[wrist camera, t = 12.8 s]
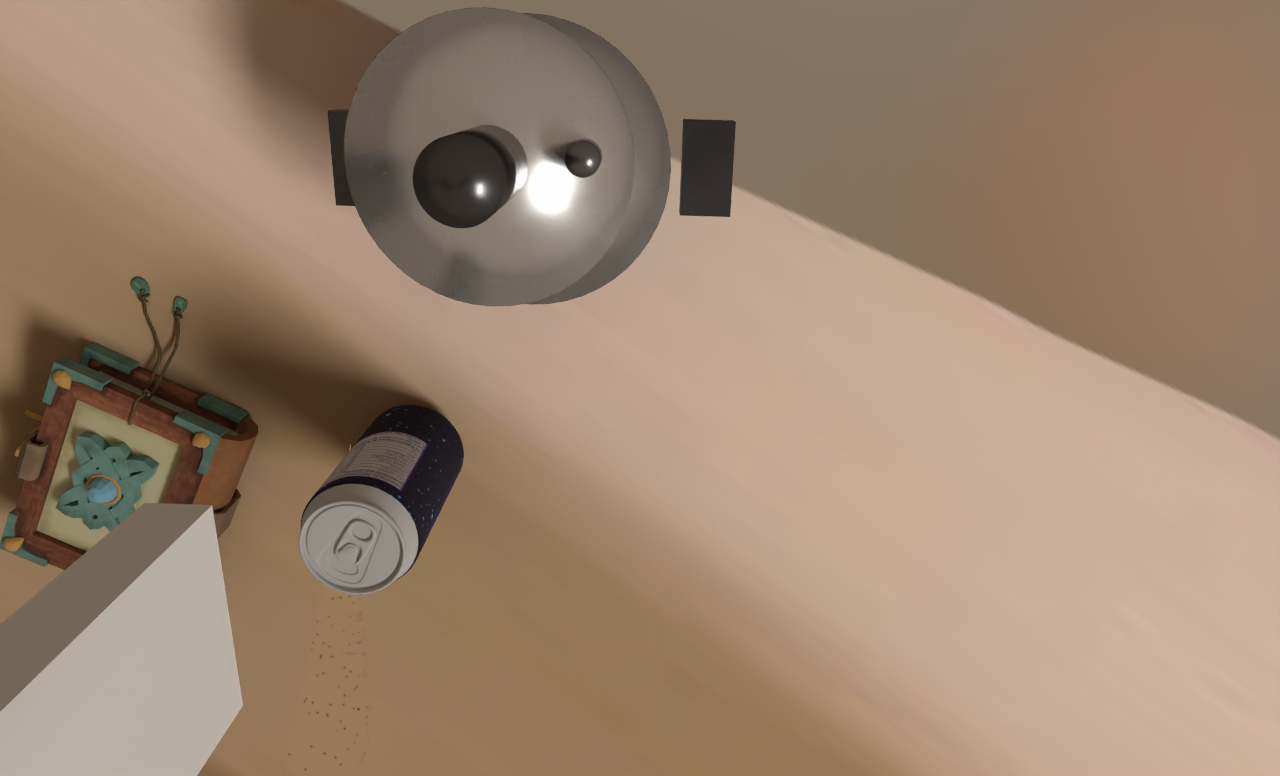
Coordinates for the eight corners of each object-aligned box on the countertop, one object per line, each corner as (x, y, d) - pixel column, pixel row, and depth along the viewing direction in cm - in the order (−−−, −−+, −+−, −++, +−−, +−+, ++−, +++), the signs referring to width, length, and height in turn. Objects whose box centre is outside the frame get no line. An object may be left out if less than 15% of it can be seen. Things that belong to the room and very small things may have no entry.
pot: (714, 267, 48) (726, 310, 40) (393, 258, 48) (337, 298, 40) (727, 28, 44) (743, 18, 35) (377, 19, 44) (310, 7, 36)
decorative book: (304, 350, 50) (267, 379, 46) (209, 587, 56) (168, 634, 51) (74, 243, 49) (12, 261, 44) (0, 499, 54) (-63, 539, 49)
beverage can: (353, 457, 52) (269, 564, 41) (397, 381, 51) (322, 471, 39) (438, 504, 53) (379, 622, 42) (484, 431, 52) (435, 533, 40)
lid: (380, 311, 40) (325, 358, 33) (325, 24, 36) (250, 13, 29) (646, 289, 39) (644, 333, 33) (620, -5, 35) (612, -23, 29)
